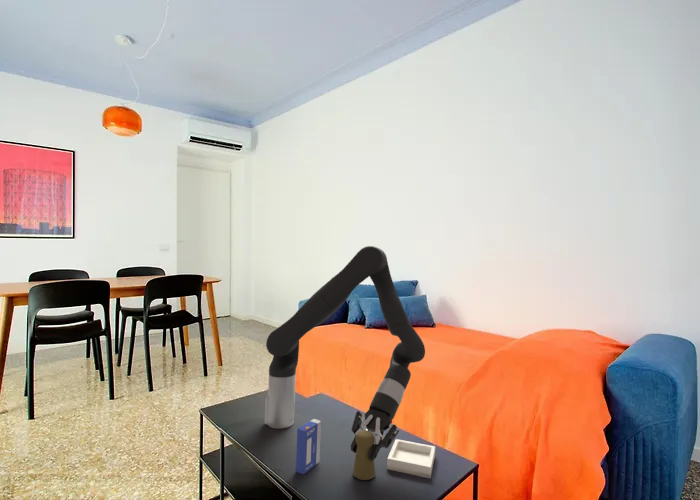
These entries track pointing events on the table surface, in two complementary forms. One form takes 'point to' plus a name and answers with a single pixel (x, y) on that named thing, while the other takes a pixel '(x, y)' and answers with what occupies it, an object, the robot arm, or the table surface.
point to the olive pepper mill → (364, 456)
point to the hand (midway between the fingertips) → (361, 455)
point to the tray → (411, 458)
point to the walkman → (308, 446)
